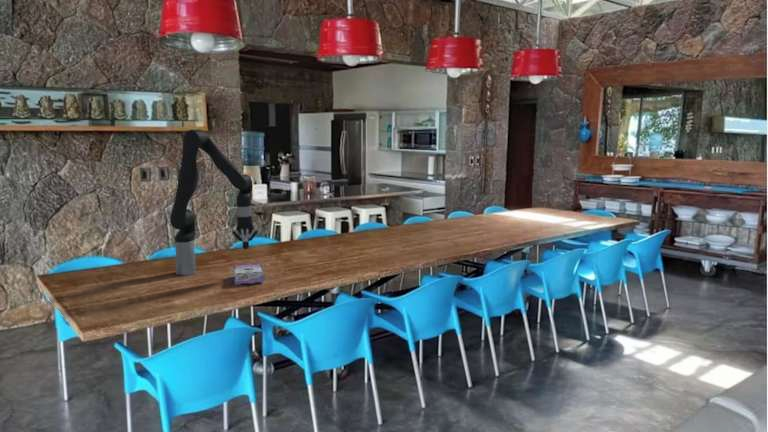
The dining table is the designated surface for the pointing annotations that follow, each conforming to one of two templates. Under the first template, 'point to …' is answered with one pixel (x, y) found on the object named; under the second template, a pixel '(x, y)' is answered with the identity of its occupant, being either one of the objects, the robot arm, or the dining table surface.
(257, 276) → the candy box
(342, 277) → the dining table surface
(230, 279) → the mat
